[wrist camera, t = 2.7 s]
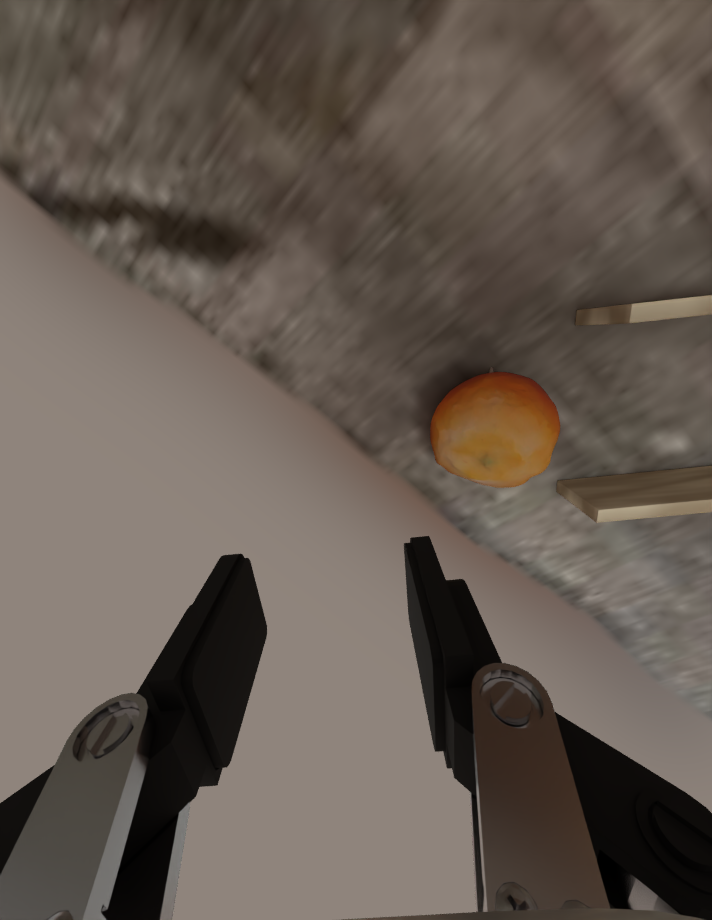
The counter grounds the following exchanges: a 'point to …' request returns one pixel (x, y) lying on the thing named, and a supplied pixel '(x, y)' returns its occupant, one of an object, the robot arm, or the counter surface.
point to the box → (644, 489)
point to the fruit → (495, 429)
